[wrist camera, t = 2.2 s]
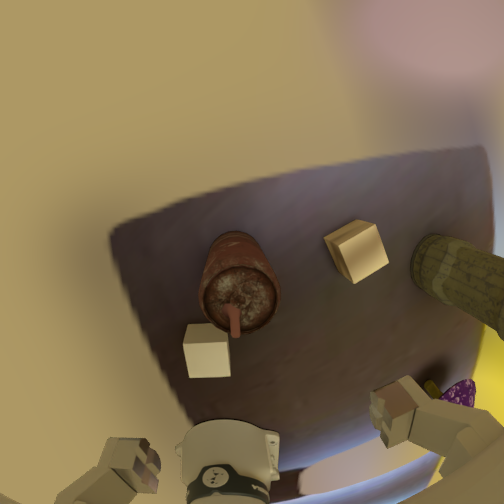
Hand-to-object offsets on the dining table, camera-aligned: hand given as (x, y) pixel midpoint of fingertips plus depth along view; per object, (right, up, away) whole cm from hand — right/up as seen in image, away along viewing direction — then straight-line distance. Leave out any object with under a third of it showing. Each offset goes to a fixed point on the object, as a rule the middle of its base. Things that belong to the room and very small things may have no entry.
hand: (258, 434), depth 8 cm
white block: (-6, -5, +27) cm, 29 cm away
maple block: (+12, +7, +26) cm, 30 cm away
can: (-2, +6, +25) cm, 26 cm away
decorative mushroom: (+33, -19, +34) cm, 51 cm away
